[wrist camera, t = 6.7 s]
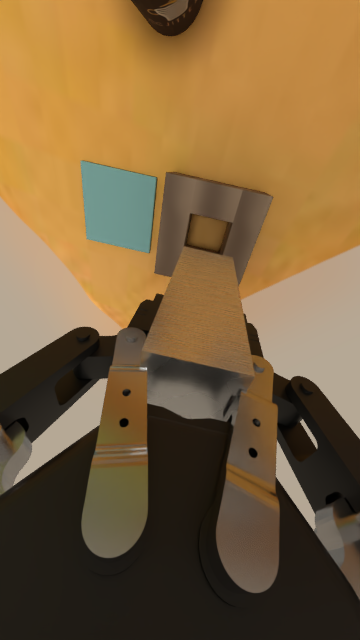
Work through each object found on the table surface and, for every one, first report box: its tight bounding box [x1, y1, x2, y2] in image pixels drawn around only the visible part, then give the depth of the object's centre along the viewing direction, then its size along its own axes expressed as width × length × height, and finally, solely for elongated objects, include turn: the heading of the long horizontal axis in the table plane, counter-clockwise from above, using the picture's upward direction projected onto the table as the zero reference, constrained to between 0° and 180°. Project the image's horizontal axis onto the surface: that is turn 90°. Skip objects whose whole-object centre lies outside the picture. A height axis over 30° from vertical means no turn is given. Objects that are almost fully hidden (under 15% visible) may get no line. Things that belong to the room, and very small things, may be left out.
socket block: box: [154, 172, 273, 287], centre depth 29 cm, size 12×12×5 cm
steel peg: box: [140, 246, 255, 420], centre depth 13 cm, size 4×4×12 cm
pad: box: [81, 161, 157, 253], centre depth 31 cm, size 10×10×1 cm
